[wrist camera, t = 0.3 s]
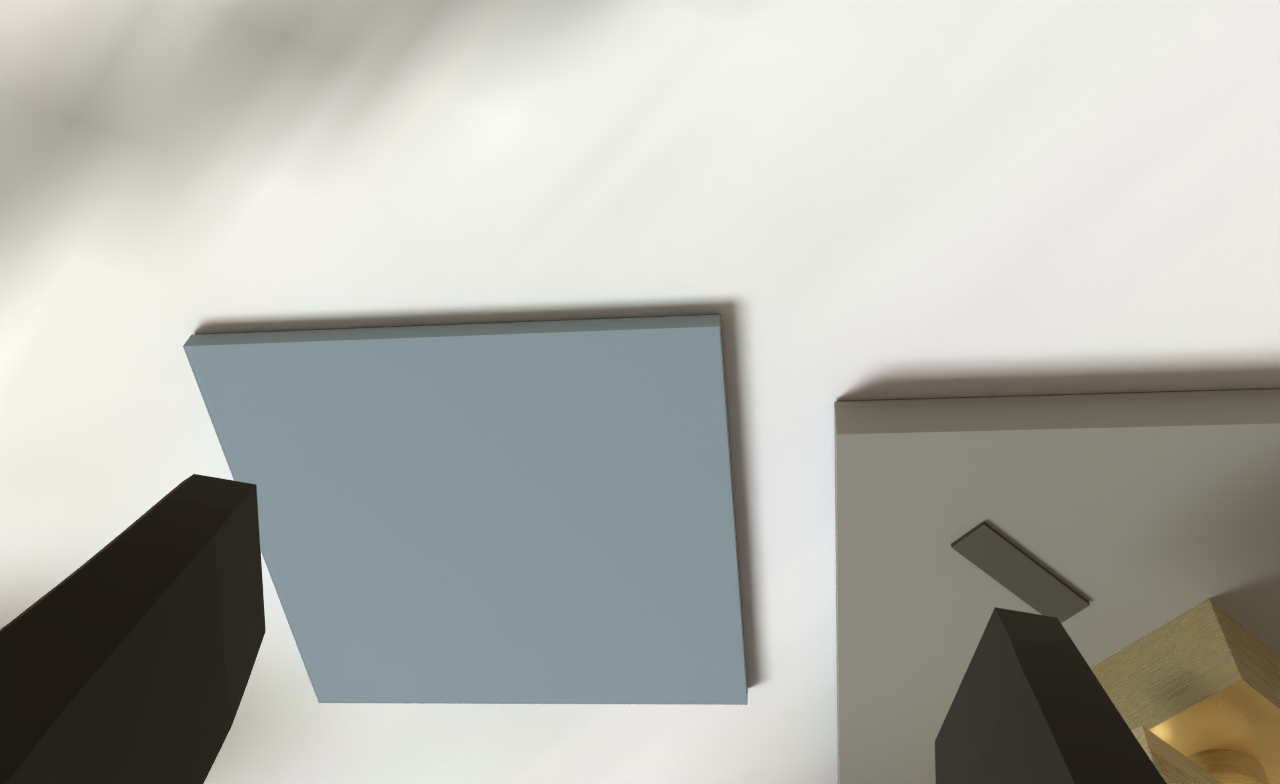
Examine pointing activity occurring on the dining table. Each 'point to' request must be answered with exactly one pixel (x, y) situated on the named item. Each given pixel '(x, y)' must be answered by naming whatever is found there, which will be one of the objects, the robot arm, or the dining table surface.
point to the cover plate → (1035, 539)
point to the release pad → (493, 506)
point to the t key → (1200, 699)
